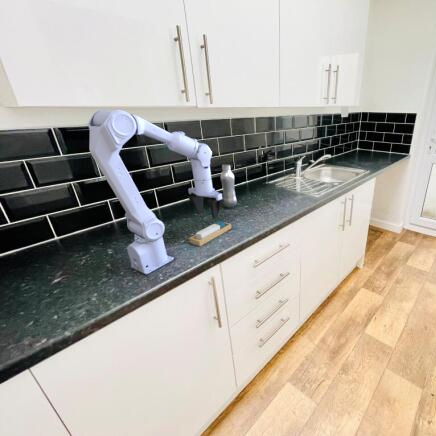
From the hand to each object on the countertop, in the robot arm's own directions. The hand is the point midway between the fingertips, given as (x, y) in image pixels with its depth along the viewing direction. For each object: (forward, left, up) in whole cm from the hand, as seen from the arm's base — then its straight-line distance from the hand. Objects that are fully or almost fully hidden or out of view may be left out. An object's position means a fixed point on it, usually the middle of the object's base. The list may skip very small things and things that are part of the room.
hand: (208, 215), depth 93 cm
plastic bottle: (+26, +14, -8) cm, 31 cm away
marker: (0, 0, -8) cm, 8 cm away
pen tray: (0, 0, -8) cm, 8 cm away
